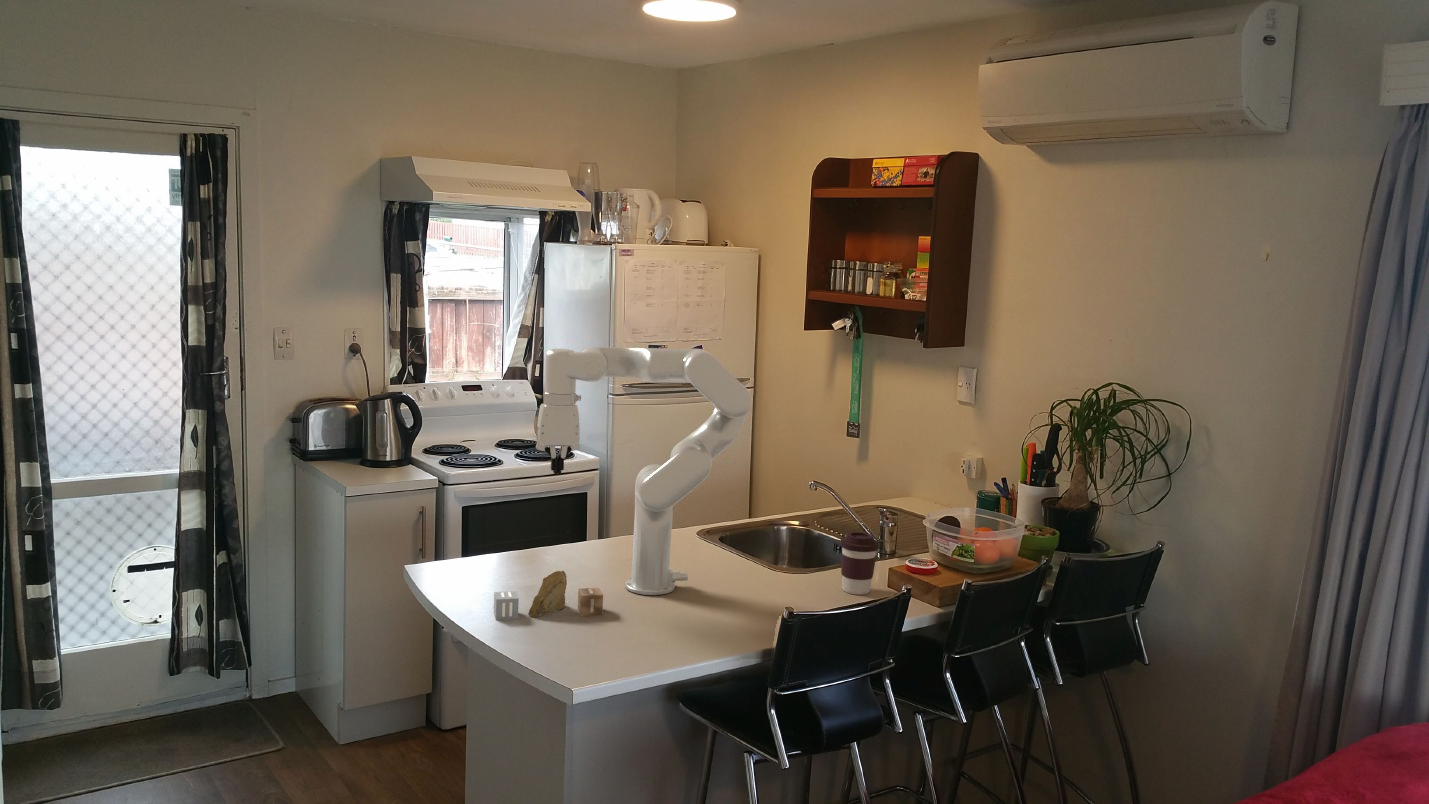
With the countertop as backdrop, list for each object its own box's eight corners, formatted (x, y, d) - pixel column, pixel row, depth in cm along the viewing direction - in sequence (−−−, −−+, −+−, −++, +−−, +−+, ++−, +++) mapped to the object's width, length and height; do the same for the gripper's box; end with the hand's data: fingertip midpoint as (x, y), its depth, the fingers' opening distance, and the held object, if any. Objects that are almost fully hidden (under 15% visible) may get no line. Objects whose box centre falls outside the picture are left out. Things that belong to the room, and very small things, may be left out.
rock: (533, 613, 234) (575, 602, 239) (523, 578, 237) (565, 568, 242) (525, 627, 243) (565, 616, 248) (515, 593, 246) (555, 583, 251)
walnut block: (598, 608, 247) (599, 587, 246) (602, 615, 242) (603, 594, 241) (577, 608, 246) (578, 588, 245) (581, 616, 241) (582, 595, 240)
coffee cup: (882, 592, 271) (887, 536, 268) (860, 599, 263) (864, 542, 261) (851, 582, 277) (855, 527, 275) (829, 589, 270) (833, 533, 268)
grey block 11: (515, 611, 241) (516, 590, 241) (518, 619, 237) (518, 598, 236) (493, 612, 240) (494, 591, 239) (495, 620, 235) (496, 599, 234)
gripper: (587, 397, 259) (584, 469, 262) (526, 397, 255) (524, 470, 257) (592, 402, 252) (589, 476, 255) (530, 401, 247) (528, 476, 250)
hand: (557, 473), depth 256 cm, fingers closed
